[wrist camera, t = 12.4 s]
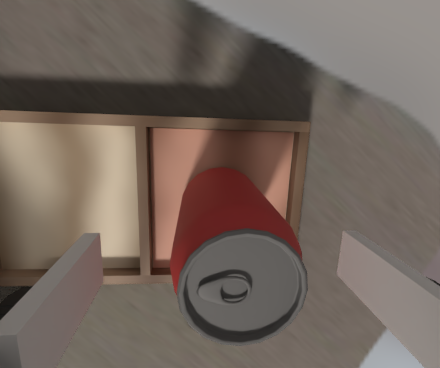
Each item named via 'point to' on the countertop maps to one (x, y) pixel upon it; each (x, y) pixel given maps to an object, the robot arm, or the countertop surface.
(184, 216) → the beer can
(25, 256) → the caddy tray
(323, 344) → the countertop surface
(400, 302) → the robot arm
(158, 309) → the countertop surface
